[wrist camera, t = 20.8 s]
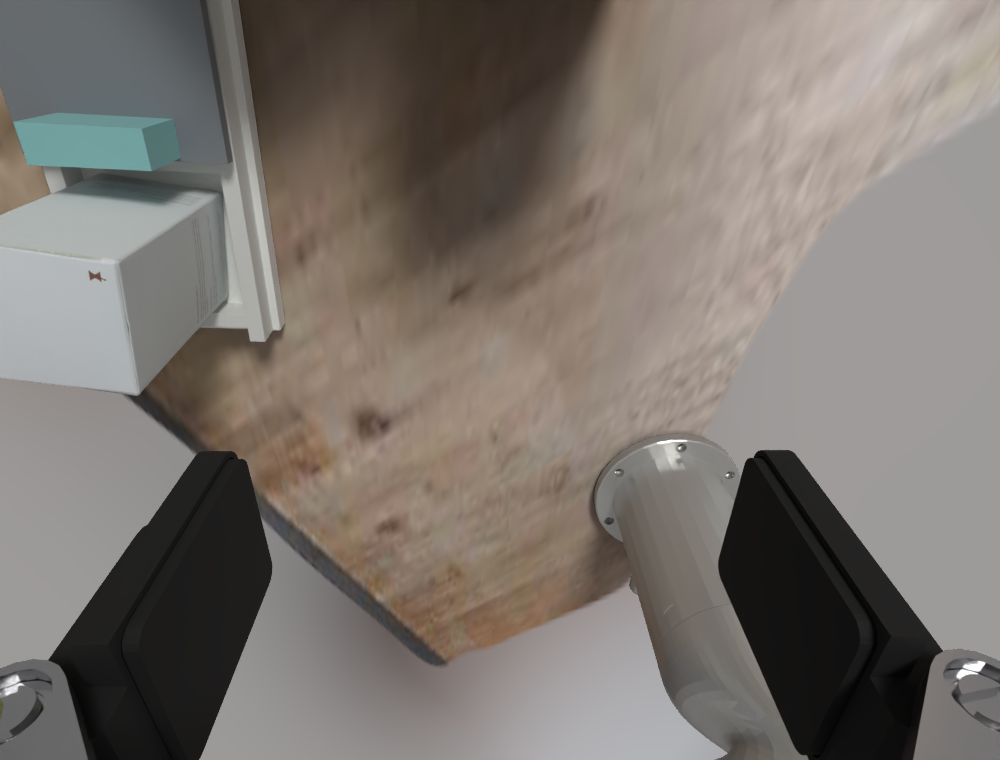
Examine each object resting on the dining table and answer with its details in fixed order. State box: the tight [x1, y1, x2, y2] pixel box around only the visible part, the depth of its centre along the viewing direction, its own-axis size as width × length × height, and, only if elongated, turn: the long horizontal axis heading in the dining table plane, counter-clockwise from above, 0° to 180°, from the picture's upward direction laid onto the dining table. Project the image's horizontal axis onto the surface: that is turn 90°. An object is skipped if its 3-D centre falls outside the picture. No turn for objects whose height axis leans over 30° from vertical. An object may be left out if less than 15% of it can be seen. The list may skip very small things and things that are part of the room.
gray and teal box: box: [0, 0, 233, 171], centre depth 29 cm, size 9×11×4 cm
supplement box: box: [0, 173, 229, 396], centre depth 33 cm, size 7×7×13 cm
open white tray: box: [42, 0, 285, 342], centre depth 36 cm, size 20×12×3 cm, turn 177°
